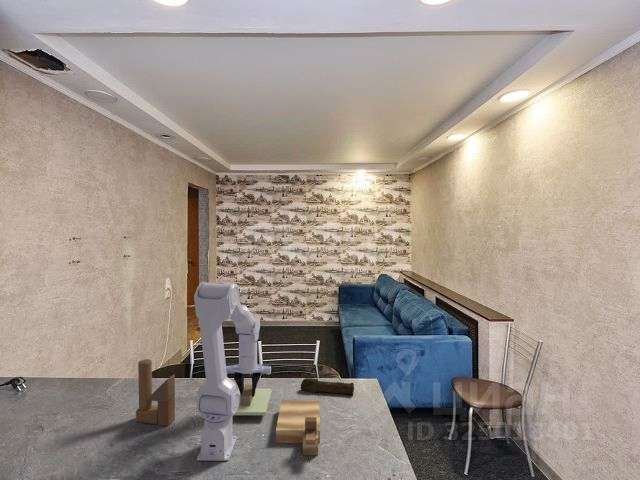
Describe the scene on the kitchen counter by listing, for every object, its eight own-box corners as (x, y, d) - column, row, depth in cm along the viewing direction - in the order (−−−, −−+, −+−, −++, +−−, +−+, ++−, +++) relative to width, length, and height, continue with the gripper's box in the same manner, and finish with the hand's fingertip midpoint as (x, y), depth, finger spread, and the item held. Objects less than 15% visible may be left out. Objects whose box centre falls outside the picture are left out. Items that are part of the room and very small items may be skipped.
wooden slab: (320, 455, 90) (320, 438, 90) (273, 454, 90) (273, 438, 90) (319, 410, 111) (319, 397, 111) (281, 410, 111) (281, 396, 111)
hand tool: (354, 392, 124) (354, 379, 124) (353, 397, 120) (353, 384, 120) (302, 387, 127) (302, 374, 127) (300, 392, 123) (300, 379, 123)
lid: (265, 415, 105) (265, 402, 105) (227, 415, 105) (227, 402, 105) (271, 391, 120) (271, 380, 120) (238, 391, 120) (238, 379, 120)
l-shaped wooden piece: (316, 444, 87) (316, 430, 87) (304, 444, 87) (304, 430, 87) (316, 430, 93) (316, 417, 93) (305, 430, 93) (305, 417, 93)
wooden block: (168, 426, 101) (167, 366, 101) (135, 422, 104) (134, 363, 103) (175, 419, 105) (175, 361, 104) (144, 415, 107) (143, 358, 106)
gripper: (272, 349, 116) (271, 389, 117) (228, 349, 116) (228, 388, 116) (269, 357, 109) (269, 400, 110) (222, 357, 109) (222, 399, 109)
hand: (247, 395), depth 112 cm, fingers closed on lid, 3 cm apart
